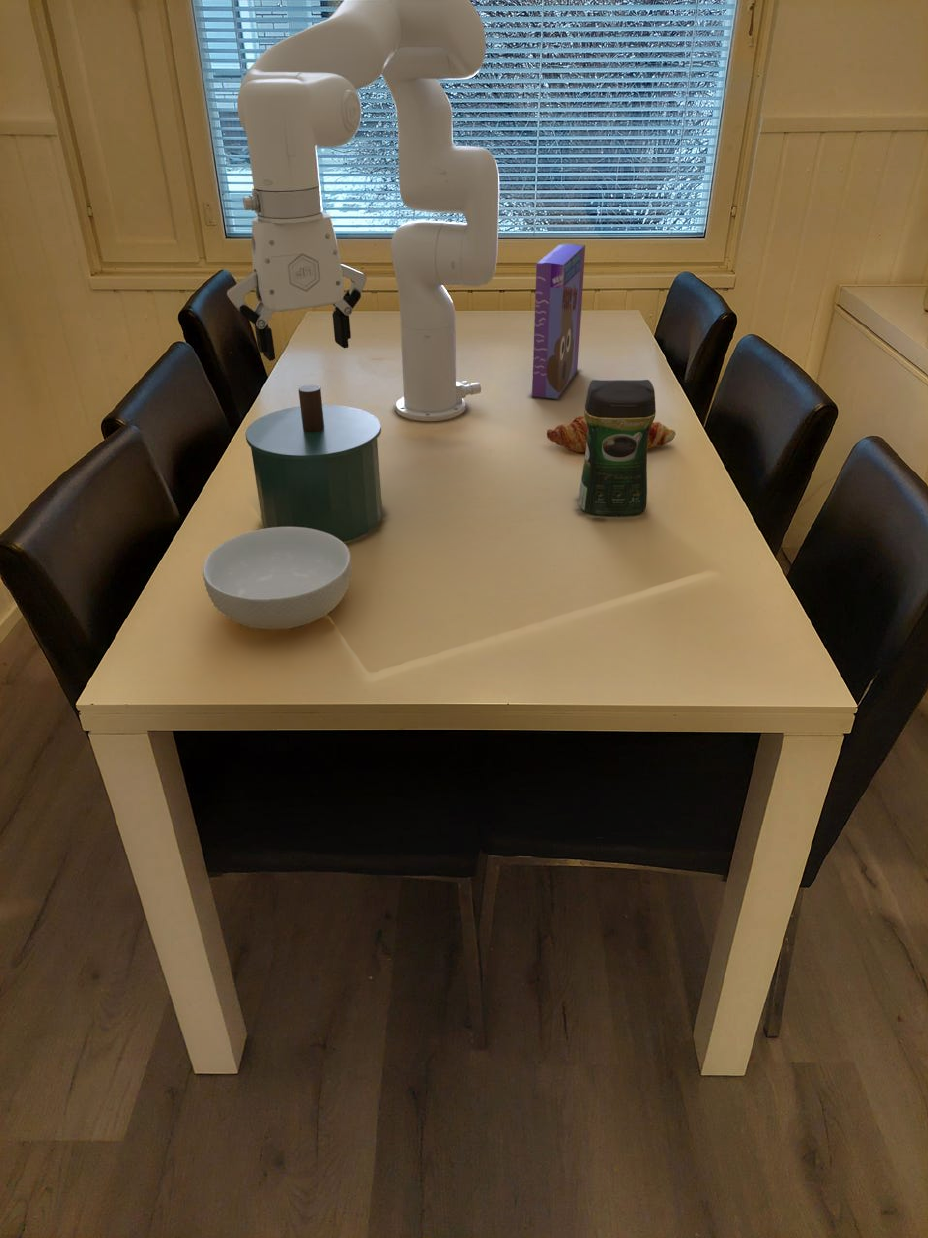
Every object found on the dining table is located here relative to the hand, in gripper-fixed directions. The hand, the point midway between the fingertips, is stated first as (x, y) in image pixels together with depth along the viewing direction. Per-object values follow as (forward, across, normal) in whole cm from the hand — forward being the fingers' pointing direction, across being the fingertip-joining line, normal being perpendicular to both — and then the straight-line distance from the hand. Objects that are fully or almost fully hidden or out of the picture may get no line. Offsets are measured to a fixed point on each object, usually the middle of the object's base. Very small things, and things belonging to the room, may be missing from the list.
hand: (306, 351), depth 111 cm
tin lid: (+11, 0, 0) cm, 11 cm away
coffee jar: (+24, +38, -16) cm, 48 cm away
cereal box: (+25, +59, +33) cm, 72 cm away
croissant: (+24, +50, +2) cm, 56 cm away
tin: (+24, 0, 0) cm, 24 cm away
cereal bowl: (+24, -12, -20) cm, 34 cm away
